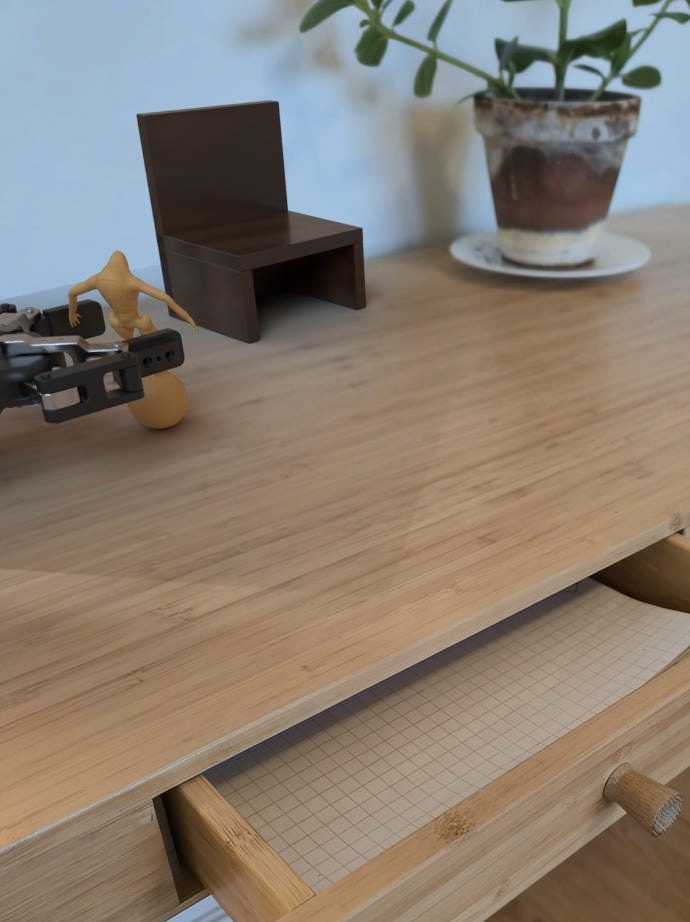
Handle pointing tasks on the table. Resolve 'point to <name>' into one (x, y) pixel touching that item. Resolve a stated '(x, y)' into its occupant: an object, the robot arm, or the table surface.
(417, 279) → the table surface
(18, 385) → the robot arm
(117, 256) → the figurine
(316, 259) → the wooden miniature chair
